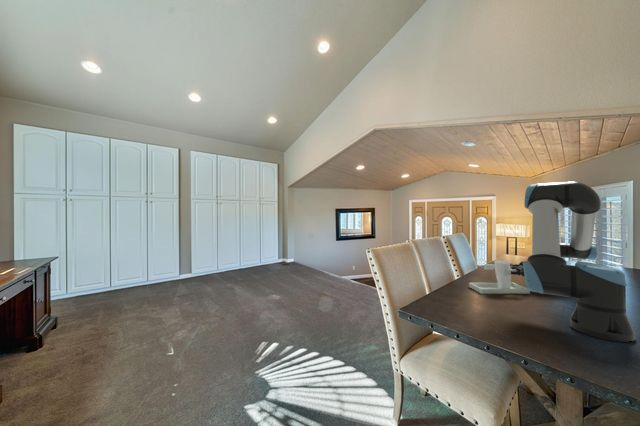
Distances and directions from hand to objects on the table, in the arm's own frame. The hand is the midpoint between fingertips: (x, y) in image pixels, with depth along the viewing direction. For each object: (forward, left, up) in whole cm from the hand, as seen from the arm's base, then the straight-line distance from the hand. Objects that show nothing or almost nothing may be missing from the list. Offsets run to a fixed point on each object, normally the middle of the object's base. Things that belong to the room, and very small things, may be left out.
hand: (493, 269), depth 134 cm
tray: (+2, -1, -11) cm, 11 cm away
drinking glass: (+3, -4, -10) cm, 11 cm away
